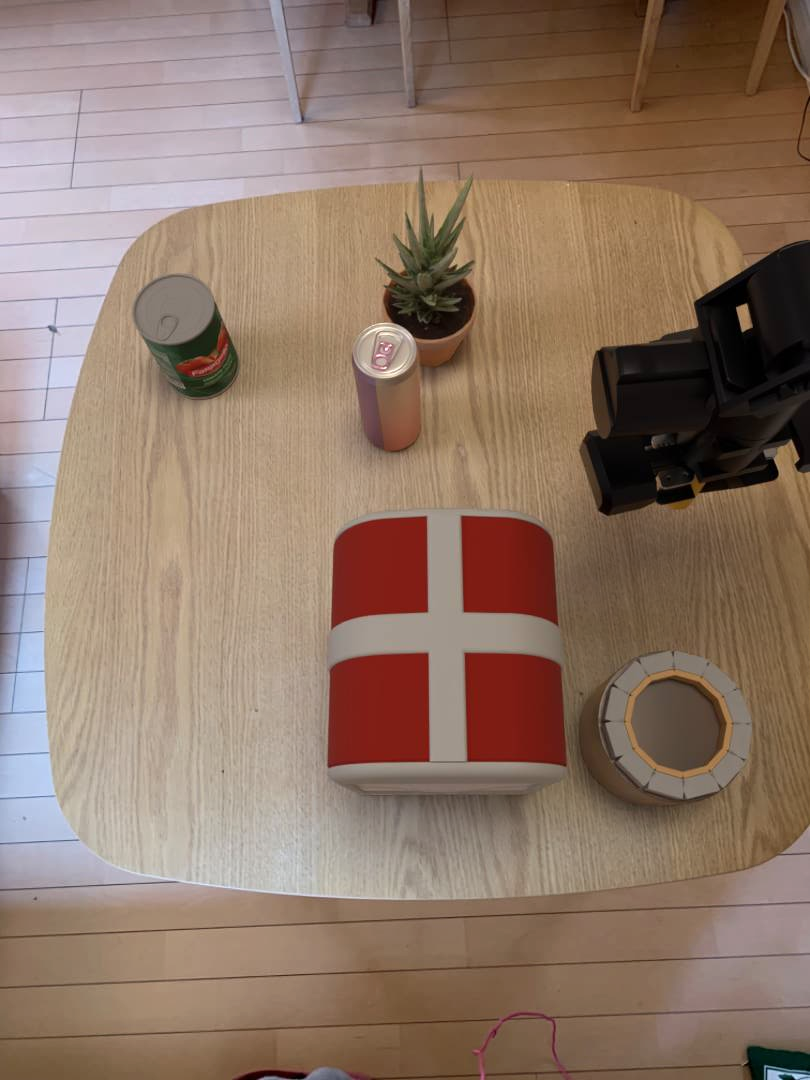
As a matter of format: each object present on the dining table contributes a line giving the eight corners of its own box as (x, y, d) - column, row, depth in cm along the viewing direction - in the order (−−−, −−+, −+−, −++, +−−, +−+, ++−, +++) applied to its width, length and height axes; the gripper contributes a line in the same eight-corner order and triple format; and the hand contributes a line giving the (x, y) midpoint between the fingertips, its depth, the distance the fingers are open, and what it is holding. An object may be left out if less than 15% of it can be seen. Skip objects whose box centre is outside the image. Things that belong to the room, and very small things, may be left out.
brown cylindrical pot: (685, 657, 79) (718, 635, 70) (732, 787, 75) (772, 781, 66) (562, 688, 79) (578, 670, 70) (602, 821, 75) (625, 820, 66)
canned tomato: (181, 328, 92) (149, 264, 82) (249, 344, 91) (226, 281, 81) (155, 391, 90) (119, 333, 80) (225, 407, 89) (197, 351, 79)
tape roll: (715, 641, 70) (721, 637, 69) (766, 777, 66) (773, 776, 65) (584, 673, 69) (588, 670, 68) (628, 813, 66) (633, 813, 64)
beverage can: (356, 445, 87) (341, 370, 73) (373, 395, 89) (362, 313, 75) (411, 460, 86) (407, 387, 72) (428, 409, 88) (427, 329, 74)
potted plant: (477, 306, 92) (492, 129, 69) (470, 383, 89) (483, 226, 66) (386, 300, 93) (370, 122, 69) (376, 376, 90) (355, 217, 66)
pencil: (686, 481, 72) (716, 436, 64) (696, 506, 71) (726, 465, 63) (659, 487, 72) (685, 443, 64) (668, 513, 71) (695, 472, 63)
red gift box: (526, 603, 81) (570, 498, 56) (536, 795, 76) (589, 777, 50) (354, 604, 82) (318, 502, 56) (350, 795, 76) (309, 778, 50)
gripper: (836, 272, 59) (755, 384, 74) (575, 327, 58) (546, 429, 73) (901, 412, 55) (802, 500, 70) (624, 473, 54) (583, 549, 69)
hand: (681, 490), depth 71 cm, fingers closed on pencil, 2 cm apart
